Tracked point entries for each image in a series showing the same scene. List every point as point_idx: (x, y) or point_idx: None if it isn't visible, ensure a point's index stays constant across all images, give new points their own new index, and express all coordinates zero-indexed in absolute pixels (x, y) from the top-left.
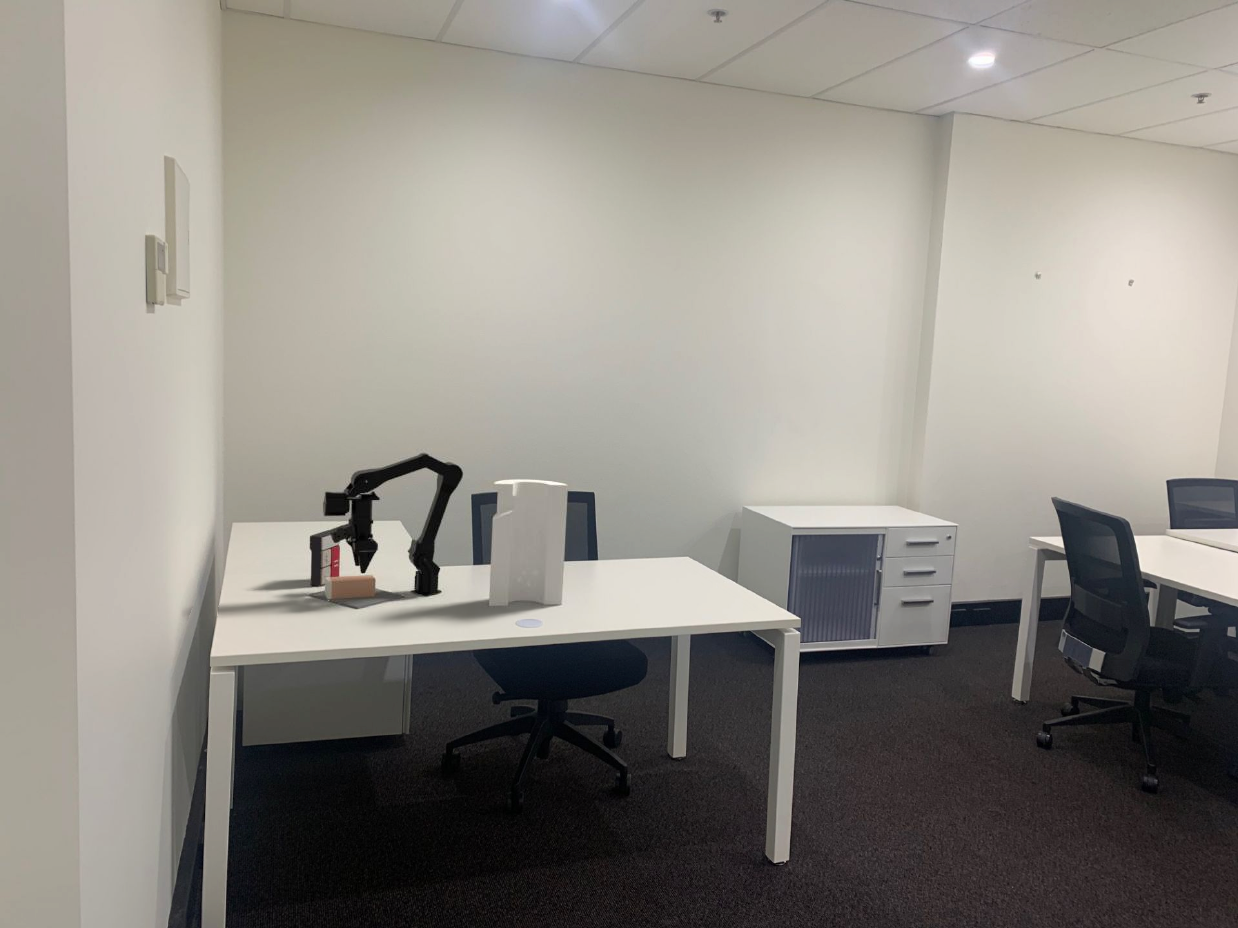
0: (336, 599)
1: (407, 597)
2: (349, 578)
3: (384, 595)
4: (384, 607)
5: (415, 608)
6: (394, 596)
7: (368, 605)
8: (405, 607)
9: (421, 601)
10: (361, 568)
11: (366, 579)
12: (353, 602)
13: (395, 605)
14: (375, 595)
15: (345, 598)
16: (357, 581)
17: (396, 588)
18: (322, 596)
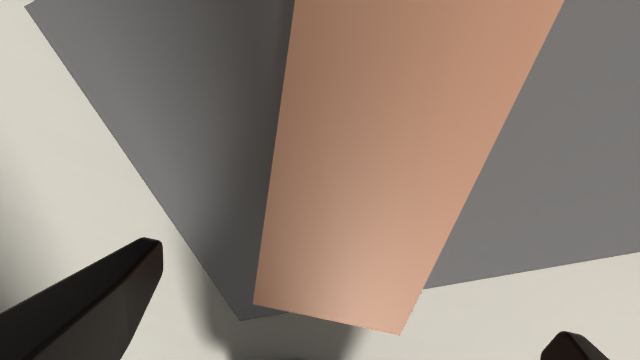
0: None
1: (234, 321)
2: (376, 134)
3: None
4: (64, 168)
5: (34, 272)
6: (237, 285)
7: (96, 101)
8: (55, 248)
9: (150, 332)
10: (76, 282)
11: (261, 247)
12: (164, 28)
13: (99, 228)
14: None
15: None
16: (274, 169)
17: (417, 352)
18: None
